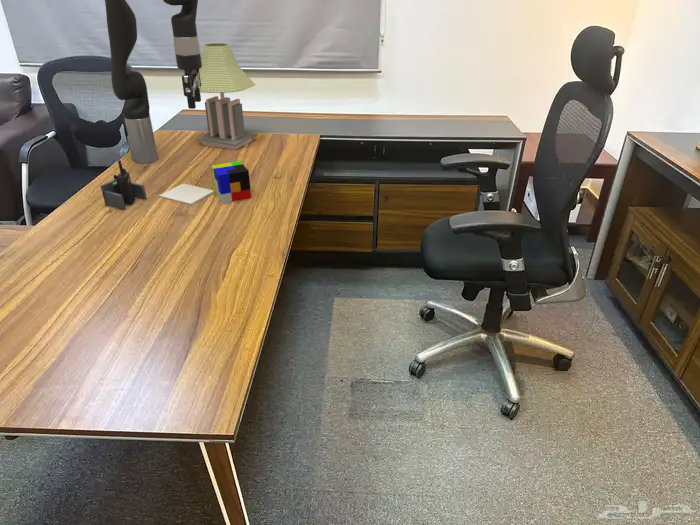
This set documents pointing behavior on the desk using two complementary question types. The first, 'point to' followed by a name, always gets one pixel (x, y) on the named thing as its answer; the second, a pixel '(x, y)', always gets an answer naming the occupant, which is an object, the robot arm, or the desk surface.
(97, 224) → the desk surface
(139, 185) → the dock
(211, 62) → the desk lamp
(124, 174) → the two-way radio
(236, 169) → the puzzle toy
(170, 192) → the mat
